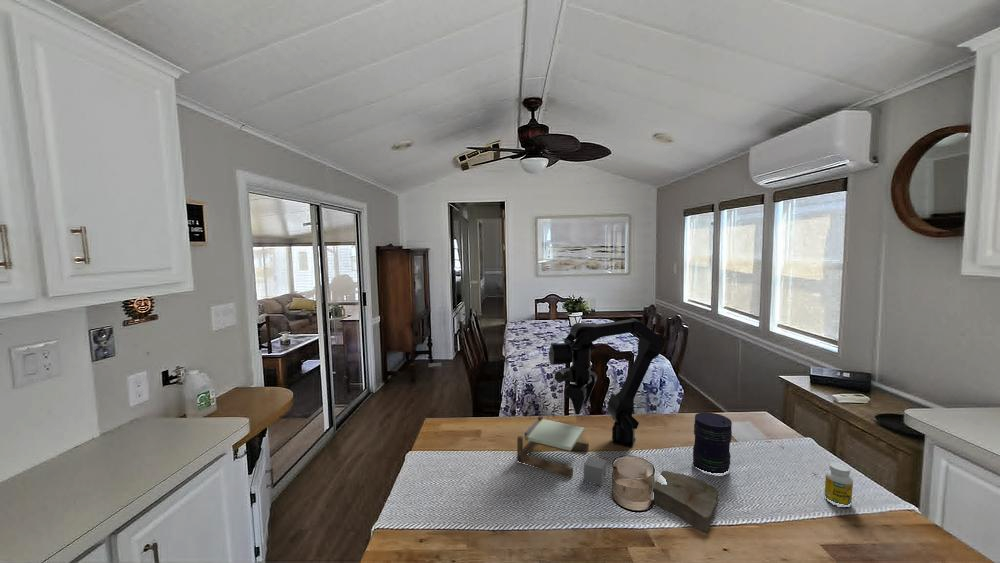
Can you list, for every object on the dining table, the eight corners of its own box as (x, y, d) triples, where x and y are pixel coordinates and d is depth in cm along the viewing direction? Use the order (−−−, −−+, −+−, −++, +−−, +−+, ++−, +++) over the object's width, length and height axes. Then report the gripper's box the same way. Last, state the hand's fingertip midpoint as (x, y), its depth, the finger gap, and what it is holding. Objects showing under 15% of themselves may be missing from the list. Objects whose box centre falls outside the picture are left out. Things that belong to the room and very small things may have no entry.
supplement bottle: (844, 497, 105) (847, 463, 104) (855, 510, 100) (858, 474, 99) (820, 494, 107) (822, 459, 106) (829, 506, 102) (832, 470, 101)
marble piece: (707, 535, 92) (708, 518, 92) (643, 509, 101) (644, 493, 101) (722, 499, 105) (722, 484, 105) (664, 479, 114) (664, 465, 114)
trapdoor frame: (517, 462, 123) (517, 437, 122) (539, 438, 138) (539, 415, 137) (571, 477, 114) (572, 451, 114) (588, 450, 130) (588, 426, 129)
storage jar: (687, 467, 119) (689, 419, 118) (698, 455, 127) (700, 409, 125) (724, 481, 113) (727, 430, 111) (733, 466, 120) (736, 418, 119)
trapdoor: (521, 439, 123) (521, 435, 123) (539, 421, 135) (539, 417, 135) (570, 451, 116) (570, 447, 116) (584, 431, 128) (584, 427, 128)
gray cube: (605, 476, 115) (606, 460, 115) (601, 486, 111) (602, 468, 110) (588, 472, 117) (589, 456, 117) (583, 481, 113) (584, 464, 113)
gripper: (565, 352, 142) (566, 395, 144) (548, 367, 126) (548, 415, 127) (597, 356, 137) (597, 400, 139) (583, 372, 121) (583, 422, 122)
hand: (581, 408), depth 132 cm, fingers open, 9 cm apart
